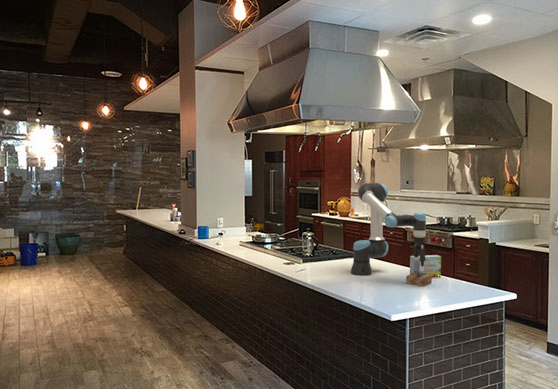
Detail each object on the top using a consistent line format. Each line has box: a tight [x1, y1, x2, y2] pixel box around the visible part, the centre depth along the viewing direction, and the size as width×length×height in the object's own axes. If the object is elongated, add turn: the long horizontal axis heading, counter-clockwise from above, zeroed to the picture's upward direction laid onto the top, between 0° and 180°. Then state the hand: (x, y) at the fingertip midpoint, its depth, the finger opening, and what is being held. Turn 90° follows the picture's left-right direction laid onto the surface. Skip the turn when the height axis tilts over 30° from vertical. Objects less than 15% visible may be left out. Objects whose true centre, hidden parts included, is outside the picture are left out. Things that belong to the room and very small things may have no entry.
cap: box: [413, 260, 425, 272], centre depth 316 cm, size 7×7×6 cm
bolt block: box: [405, 271, 433, 287], centre depth 316 cm, size 12×12×13 cm
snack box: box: [409, 254, 442, 279], centre depth 336 cm, size 21×6×15 cm, turn 105°
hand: (419, 269), depth 316 cm, fingers open, 13 cm apart
